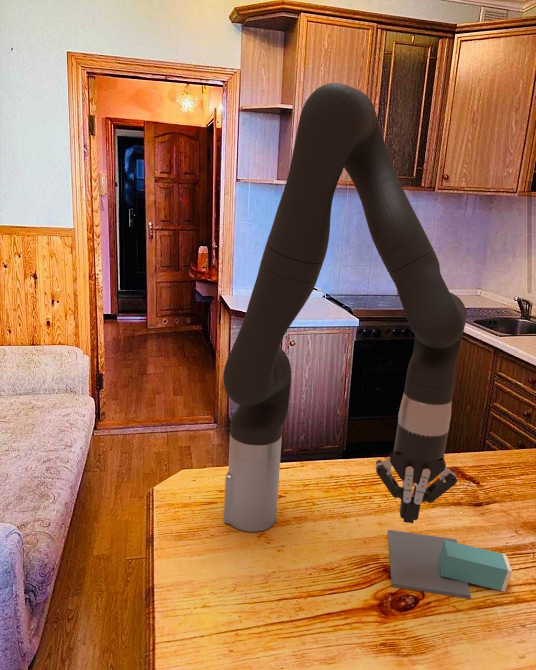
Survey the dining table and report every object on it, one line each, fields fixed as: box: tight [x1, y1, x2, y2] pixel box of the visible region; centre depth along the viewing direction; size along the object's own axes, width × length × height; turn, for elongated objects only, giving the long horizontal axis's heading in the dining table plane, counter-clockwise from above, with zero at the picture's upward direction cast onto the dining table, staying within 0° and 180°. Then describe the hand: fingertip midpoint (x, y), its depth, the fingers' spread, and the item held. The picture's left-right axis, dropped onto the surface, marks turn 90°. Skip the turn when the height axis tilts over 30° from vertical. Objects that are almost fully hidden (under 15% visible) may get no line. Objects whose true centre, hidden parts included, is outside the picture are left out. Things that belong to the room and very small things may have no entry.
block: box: [438, 540, 513, 593], centre depth 91 cm, size 4×4×10 cm
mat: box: [387, 529, 471, 600], centre depth 95 cm, size 12×14×1 cm
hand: (408, 519), depth 91 cm, fingers closed
